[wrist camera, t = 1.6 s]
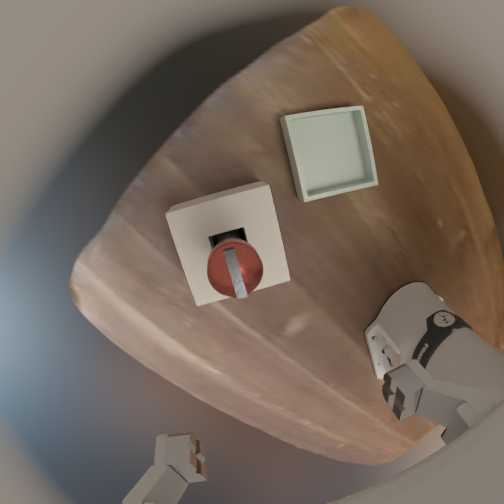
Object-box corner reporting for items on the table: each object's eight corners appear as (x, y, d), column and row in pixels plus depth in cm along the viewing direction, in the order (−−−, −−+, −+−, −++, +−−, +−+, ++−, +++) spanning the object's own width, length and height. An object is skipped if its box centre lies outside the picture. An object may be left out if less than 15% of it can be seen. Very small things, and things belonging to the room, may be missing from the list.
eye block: (279, 263, 41) (290, 280, 35) (198, 285, 40) (197, 306, 35) (260, 180, 37) (269, 184, 31) (172, 205, 36) (165, 213, 31)
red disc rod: (251, 247, 40) (270, 292, 27) (214, 258, 39) (216, 307, 26) (241, 211, 38) (257, 240, 25) (204, 222, 38) (199, 256, 25)
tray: (367, 182, 39) (378, 184, 36) (297, 198, 38) (304, 202, 35) (352, 108, 35) (362, 105, 32) (279, 119, 34) (284, 115, 32)
